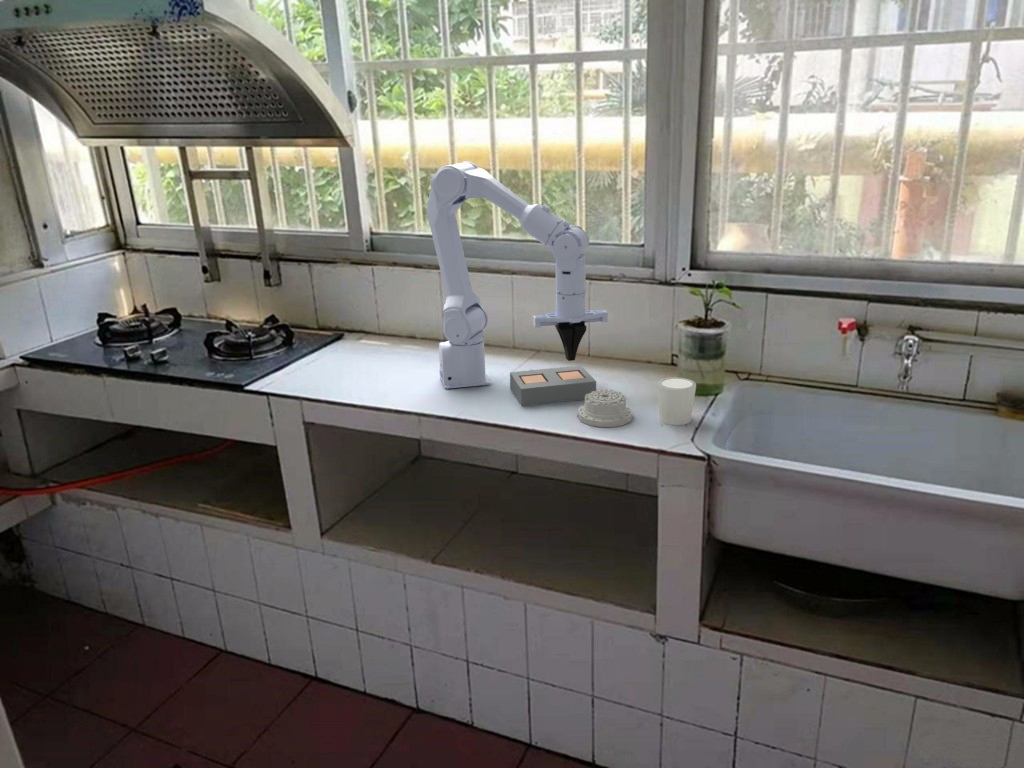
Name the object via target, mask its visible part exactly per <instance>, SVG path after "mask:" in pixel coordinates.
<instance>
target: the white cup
mask: <svg viewBox="0 0 1024 768" xmlns="http://www.w3.org/2000/svg"><path fill="white" fill-rule="evenodd" d="M696 389H697V383H696V382H695V381H693V380H692V379H689V378H685V377H674V376H672V377H670V376H669V377H664V378H662V379H660V380H658V381H657V396H658V414H659V415H658V416H659V421H660V422H661V423H664V424H666V425H671V426H683V425H687V424H689V423H690V422H691V421H692V417H693V408H694V401H695V396H696Z"/></svg>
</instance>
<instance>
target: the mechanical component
mask: <svg viewBox="0 0 1024 768" xmlns="http://www.w3.org/2000/svg"><path fill="white" fill-rule="evenodd" d="M577 418H578V420H579V421H580V422H582V423H584V424H586V425H588V426H592V427H598V428H615V427H620V426H624V425H627V424H629V422H631V421H632V419H633V409H632V408H631V407H630V406H628V405H627V397H626V394H622V392H621V391H614V390H613V389H599V390H596V391H592V393H589V394H586V396H585V399H584V404H583V405H581V406H580V407H578V409H577Z"/></svg>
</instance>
